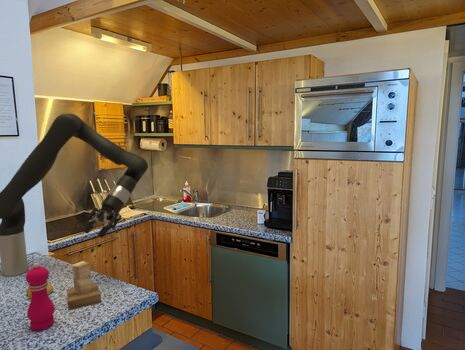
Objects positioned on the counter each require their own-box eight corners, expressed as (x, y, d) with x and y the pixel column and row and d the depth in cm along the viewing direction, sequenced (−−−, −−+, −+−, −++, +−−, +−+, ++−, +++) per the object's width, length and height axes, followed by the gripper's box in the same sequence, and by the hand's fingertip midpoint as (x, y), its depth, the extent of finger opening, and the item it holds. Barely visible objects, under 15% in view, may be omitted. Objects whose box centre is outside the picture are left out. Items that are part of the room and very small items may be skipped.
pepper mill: (36, 318, 105) (29, 258, 102) (59, 317, 105) (54, 257, 102) (23, 332, 97) (16, 268, 95) (49, 331, 98) (42, 266, 95)
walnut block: (67, 296, 118) (66, 289, 118) (97, 290, 123) (96, 282, 122) (68, 310, 109) (68, 301, 109) (101, 302, 114) (100, 293, 114)
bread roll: (30, 302, 115) (28, 291, 114) (25, 293, 122) (24, 282, 121) (56, 294, 120) (55, 284, 120) (50, 285, 127) (49, 276, 126)
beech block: (74, 292, 115) (72, 265, 114) (84, 287, 118) (82, 260, 117) (81, 295, 113) (79, 267, 112) (91, 290, 116) (89, 263, 115)
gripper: (98, 191, 133) (73, 226, 125) (123, 196, 126) (98, 232, 117) (110, 202, 138) (86, 236, 130) (134, 206, 131) (111, 243, 123)
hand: (92, 234), depth 124 cm, fingers open, 8 cm apart
